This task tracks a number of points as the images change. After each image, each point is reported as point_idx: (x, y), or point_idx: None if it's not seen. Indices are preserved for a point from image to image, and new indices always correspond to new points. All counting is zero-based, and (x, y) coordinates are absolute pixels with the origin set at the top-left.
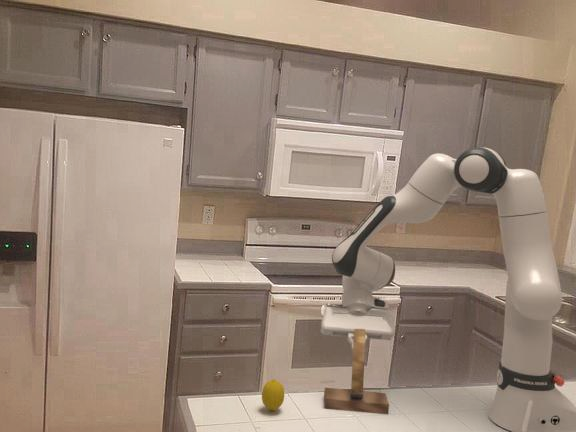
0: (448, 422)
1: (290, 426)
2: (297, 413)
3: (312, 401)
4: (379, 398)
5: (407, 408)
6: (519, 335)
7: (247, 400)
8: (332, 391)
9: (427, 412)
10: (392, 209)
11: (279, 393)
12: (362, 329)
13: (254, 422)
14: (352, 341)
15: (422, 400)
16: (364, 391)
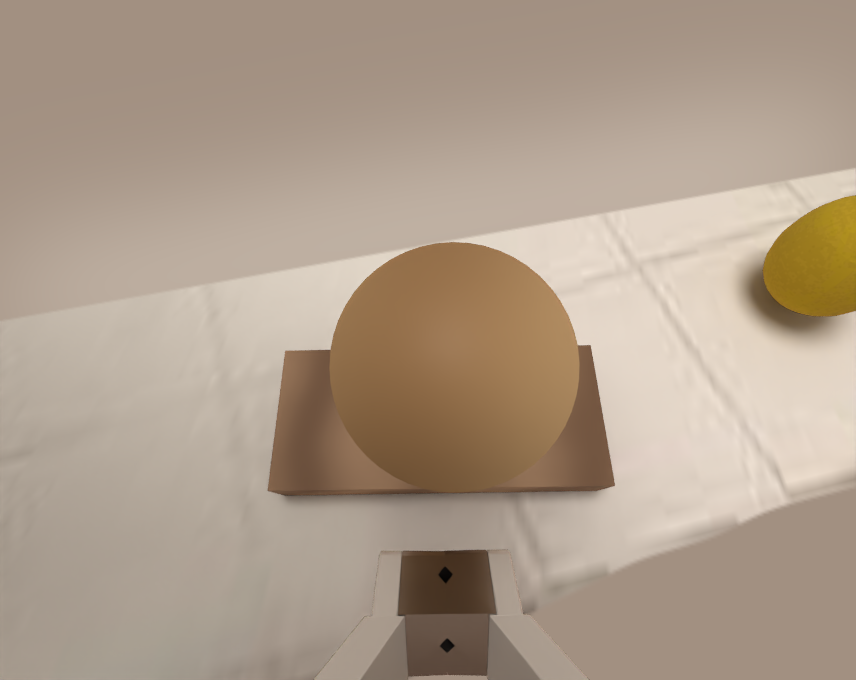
0: (57, 346)
1: (672, 207)
2: (676, 297)
3: (642, 422)
4: (318, 408)
5: (187, 445)
6: None
7: None
8: (565, 439)
9: (104, 423)
10: None
11: (811, 212)
12: (407, 257)
13: (801, 208)
14: (525, 628)
15: (59, 569)
16: (386, 481)
